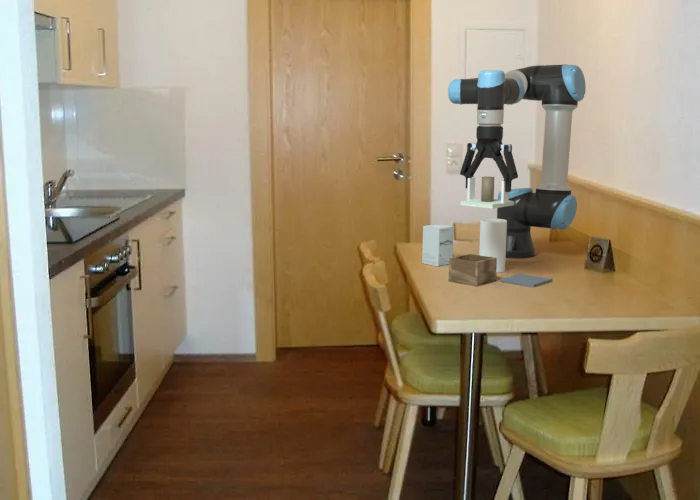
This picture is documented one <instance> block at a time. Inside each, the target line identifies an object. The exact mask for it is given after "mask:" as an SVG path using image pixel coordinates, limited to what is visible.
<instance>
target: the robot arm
mask: <svg viewBox="0 0 700 500" xmlns="http://www.w3.org/2000/svg"><path fill="white" fill-rule="evenodd" d="M585 79H586V78H585V76H584V72H583V70H582V68H580V66H578V65H576V64H564V63H563V64H546V65H543V64H542V65H541V64H539V65H538V64H537V65H529V66H526V67H522V68H517V69H513V70H509V71H507V72H506V73H505V71H504V70H500V69H499V70H497V69H496V70H495V69H494V70H493V69H490V70H480V71H479V72H478V77H473V78H458V79H457V78H456V79H453V80H451V81H450V83H449V85H448V88H447V96H448V99H449V101H450V102H451V103H452V104H453V105H477V108H476V113H477V114H476V123H477V127H476V131H475V132H476V133H475V134H476V135H475V136H476V139H477V141H476V143H475V142H468V143H467V145H466V153H465V156H464V159H463V163H462V165H461V169H460V173H459V175H461V176H463V177H464V178H465V189H467V195H466V197H467V198H466V200H473V199H476V198H475V197H476V177H475V176H474V175H475V173H476V172H477V170H478V169H479V167H480V165H481V163H482V161H483V160H484V159H492V160H493V161H494V162H495V164H496V166H497V167H498V170H499V171H500V174H501V176H502V178H503V180H501V191H499V192H498V195H497V200H501V204H505V203H508V201H514V205H512V206H506V207H500V208H496V219H504V220H507V234H506V259H527V258H533V257H535V254H536V249H535V245H534V242H533V238H532V234H531V228H542V229H552V230H565V229H567V228H569V227H570V226H571V224H572V223H573V222H574V219H575V217H576V212H577V207H578V202H577V197H576V196H575V195H573V194H572V188H571V187H570V186H569V185H568V175H569V163H570V162H569V161H570V150H571V149H570V148H571V137H572V122H573V121H572V120H573V112H574V110H576V109H577V108H578V106H579V105H578V102H581V101H583V99H584V98H585V95H586V86H587V85H586V80H585ZM521 100H527V101H541V107H542V108H543V109H544V111H545V116H544V117H545V118H544V131H543V132H544V133H543V148H542V164H541V177H540V178H541V179H540V183H539V184H538V186H536V187H535V192H534V191H533V188H531V187H524V188H522V187H521V188H512V181H513V180H516V179H518V178H519V175H518V171H517V166H516V164H515V160H514V154H513V153H512V152H513V146H512V144H510V143H509V144H508V143H507V144H503V138H504V127H503V126H502V125H503V124H504V116H505V115H504V112H505V111H504V108H505V105H508V106H510V105H515V104H518V103H520V102H521ZM476 150H477V152H476ZM501 152H503V154H502V153H501ZM475 153H476V154H475Z"/></svg>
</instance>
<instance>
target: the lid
mask: <svg viewBox="0 0 700 500" xmlns="http://www.w3.org/2000/svg"><path fill="white" fill-rule="evenodd" d="M480 193H481V195H480V198H475V199H473V200H467V199H466V200H461V201H460V206H465V207H473V208H474V207H475V208H483V209H492V210H493V209H497V208H500V207H506V206H512V205H514V201H508V203H505V204H501V200H498V198H497V199H495V176H481V191H480Z"/></svg>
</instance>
